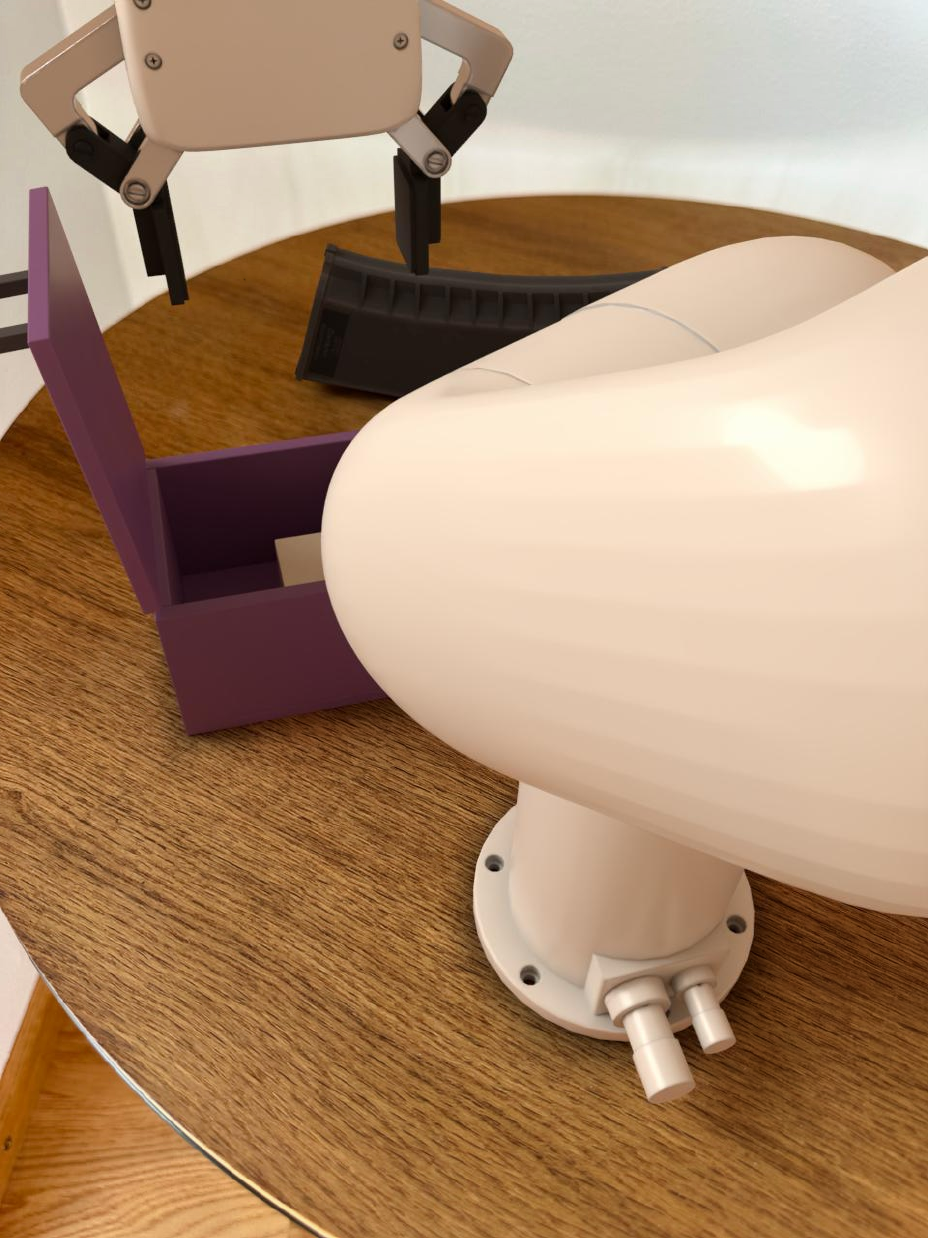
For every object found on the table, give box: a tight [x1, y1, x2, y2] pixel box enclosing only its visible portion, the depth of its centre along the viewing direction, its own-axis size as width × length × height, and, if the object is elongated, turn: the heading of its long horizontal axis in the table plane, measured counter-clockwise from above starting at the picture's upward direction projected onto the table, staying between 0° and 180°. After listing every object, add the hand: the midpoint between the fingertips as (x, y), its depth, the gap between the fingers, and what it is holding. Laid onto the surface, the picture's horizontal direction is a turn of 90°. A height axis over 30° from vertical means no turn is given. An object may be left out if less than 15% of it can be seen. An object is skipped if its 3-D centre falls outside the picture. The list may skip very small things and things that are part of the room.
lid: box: [0, 185, 161, 616], centre depth 46 cm, size 14×12×5 cm
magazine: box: [294, 242, 670, 398], centre depth 71 cm, size 17×3×30 cm
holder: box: [146, 429, 390, 737], centre depth 57 cm, size 14×12×9 cm
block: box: [274, 532, 325, 587], centre depth 58 cm, size 4×4×4 cm
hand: (297, 273), depth 44 cm, fingers open, 9 cm apart
